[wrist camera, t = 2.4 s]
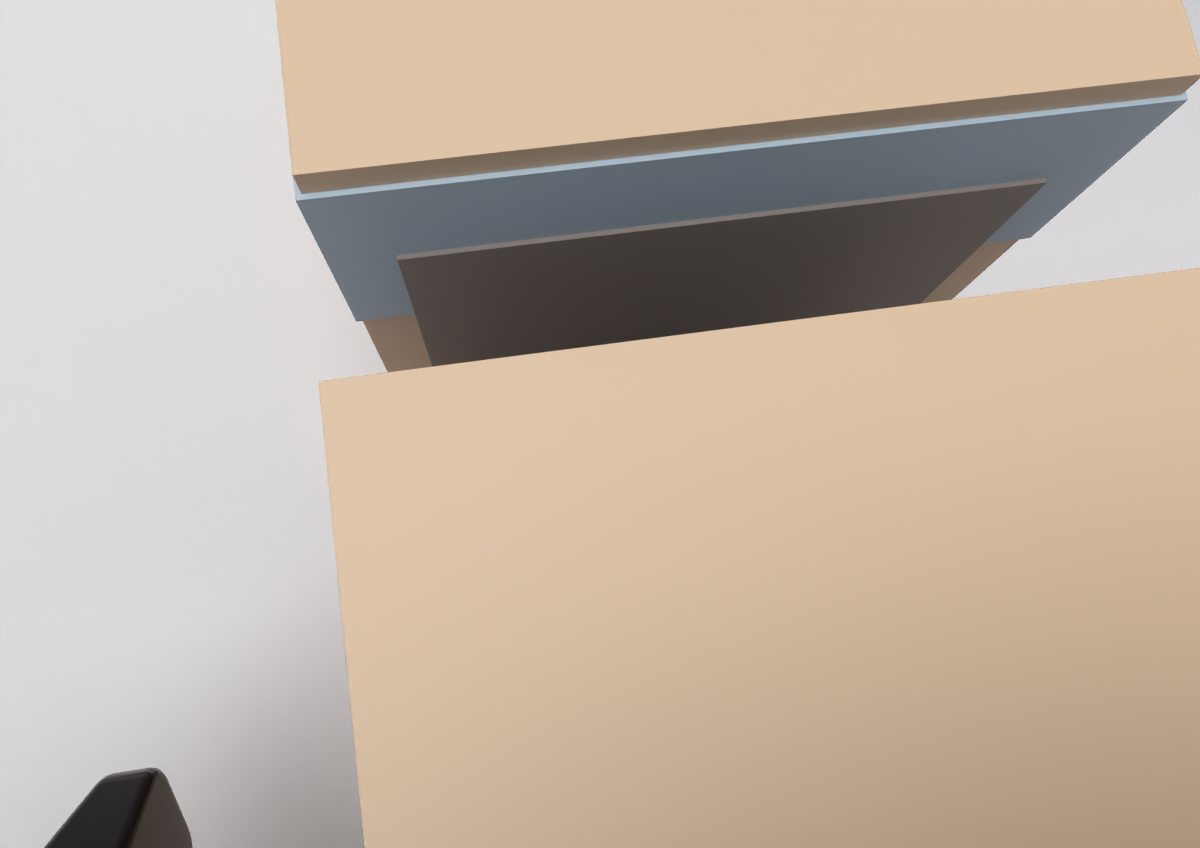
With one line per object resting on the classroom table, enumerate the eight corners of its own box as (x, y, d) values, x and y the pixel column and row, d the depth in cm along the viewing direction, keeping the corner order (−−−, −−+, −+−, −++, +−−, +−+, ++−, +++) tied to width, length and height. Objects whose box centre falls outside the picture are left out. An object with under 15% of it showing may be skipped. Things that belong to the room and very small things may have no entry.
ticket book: (745, 488, 17) (1213, 83, 5) (460, 530, 17) (288, 188, 5) (653, -11, 19) (845, -1108, 7) (396, 15, 19) (162, -1105, 7)
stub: (806, 813, 16) (1555, 1195, 4) (503, 866, 15) (414, 1451, 4) (756, 543, 17) (1264, 248, 5) (468, 586, 16) (311, 369, 5)
